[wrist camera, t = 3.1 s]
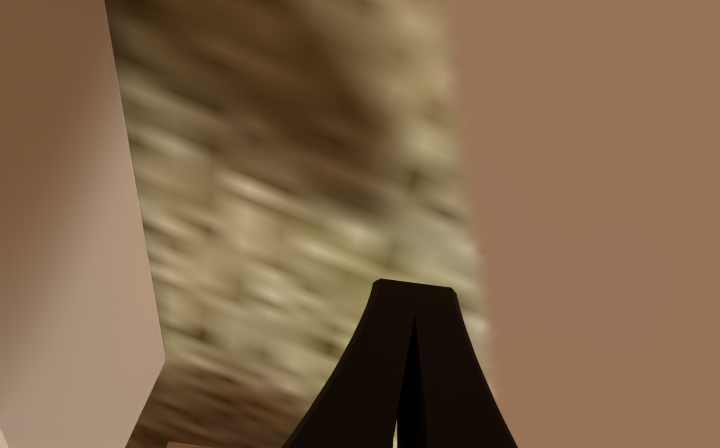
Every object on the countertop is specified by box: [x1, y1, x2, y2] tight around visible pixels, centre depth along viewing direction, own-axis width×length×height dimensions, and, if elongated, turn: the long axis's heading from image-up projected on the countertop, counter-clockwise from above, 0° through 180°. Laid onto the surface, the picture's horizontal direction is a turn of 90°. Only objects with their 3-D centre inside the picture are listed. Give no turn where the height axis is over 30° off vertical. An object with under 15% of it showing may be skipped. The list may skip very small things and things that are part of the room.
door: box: [0, 0, 166, 448], centre depth 10 cm, size 11×2×5 cm, turn 176°
